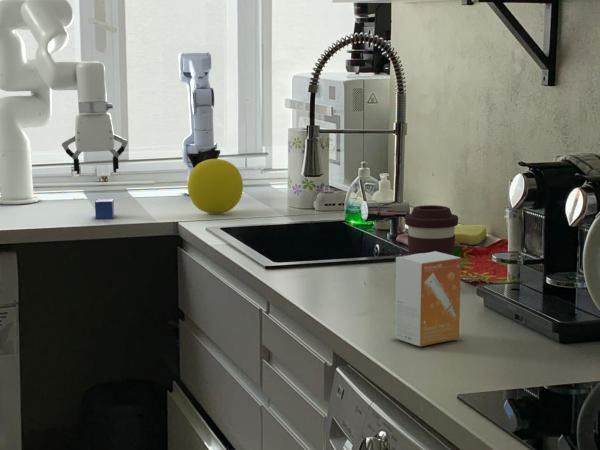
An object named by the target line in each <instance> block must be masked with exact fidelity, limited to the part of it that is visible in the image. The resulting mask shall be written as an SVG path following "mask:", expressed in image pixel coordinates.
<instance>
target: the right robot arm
mask: <svg viewBox="0 0 600 450" xmlns="http://www.w3.org/2000/svg"><path fill="white" fill-rule="evenodd" d="M178 71H179V72H178V73H179V79H180V82H182V83H184V84H185V85H186V88H187V94H188V111H189V112H188V113H189V128H190V129H189V130H190V131H189V132H190V134H189V135H187V137H186V136H185V138H184V139H183V140H182V143H181V145H182V146H181V147H182V149H181V152H182V153H181V155H182V164H184V165H186V171H187V180H188V179H189V176H190V173H191V171H192V170H193V168H194V167H195V166H196V165H198V164H199V163H201V162H203V161H205V160H209V159H219V156H220V154H221V150H220V149H218V142H215V140H214V139H215V138H214V137H215V135H214V108H215V104H216V103H215V100H216V98H215V97H216V96H215V91H214V88H213V87H212V86H211V83H210V78H211V71H212V55H211V53H210V52H208V51H207V52H180V53H179V54H178ZM181 195H189V193H188V191H183V192H181Z"/></svg>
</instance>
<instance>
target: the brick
mask: <svg viewBox="0 0 600 450" xmlns="http://www.w3.org/2000/svg"><path fill="white" fill-rule="evenodd" d="M94 211H95V214H94V215H95V220H113V219H114V217H115V203H114V198H97V199H96V200H95V201H94Z"/></svg>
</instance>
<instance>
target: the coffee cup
mask: <svg viewBox="0 0 600 450" xmlns="http://www.w3.org/2000/svg"><path fill="white" fill-rule="evenodd" d="M404 225H406V226H407V227H408V228H407V230H408V233H407V251H408V253H407V254H408V256H409V255H413V254H420V253H429V252H434V251H436V252H440V253H444V254H448V255H452V256H455V244H456V243H455V242H456V235H455V229H456V228H455V227H456V226H458V225H459V216H458V215H456V214H453V213H452V211H451V208H450V207H448V206H444V205H437V204H436V205H434V204H433V205H431V204H429V205H426V204H425V205H418V206H414V207H413V208H412V210H411V213H408V214H406V215H405V216H404Z"/></svg>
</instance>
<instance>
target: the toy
mask: <svg viewBox="0 0 600 450" xmlns="http://www.w3.org/2000/svg"><path fill="white" fill-rule="evenodd" d="M242 177H243V176H242V175H241V172H240V170H239V169H238V168H237V167H236V166H235V165H234V164H233V163H231V162H230V161H228V160H225V159H221V158H218V159H209V160H205V161H203V162H201V163H199V164H198V165H196V166H195V167H194V168H193V170H192V171H191V173H190V176H189V179H188V178H187V192H188V193H189V194H188V197H189V199H190V201H191V202H192V204H193V205H194V206H195V207H196V208H197V209H199V210H200V211H202V212H204V213H208V214H214V215H215V214H223V213H227V212H229V211H231V210H233V208H235V207H236V206H237V205H238V203H239V202H240V200H241V198H242V195H243V191H244V183H243V178H242Z"/></svg>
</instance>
